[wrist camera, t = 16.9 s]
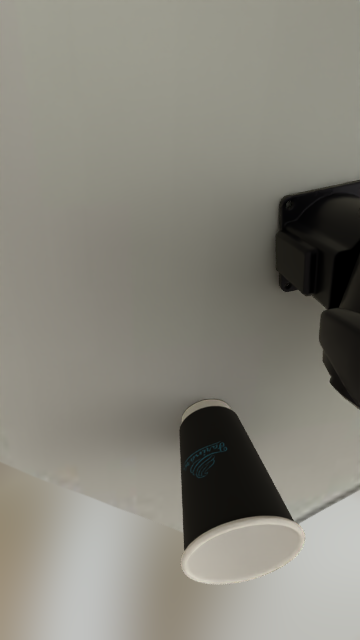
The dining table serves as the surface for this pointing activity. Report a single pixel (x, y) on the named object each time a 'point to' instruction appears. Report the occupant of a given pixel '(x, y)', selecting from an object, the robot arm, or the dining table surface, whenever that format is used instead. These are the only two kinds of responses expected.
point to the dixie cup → (229, 502)
